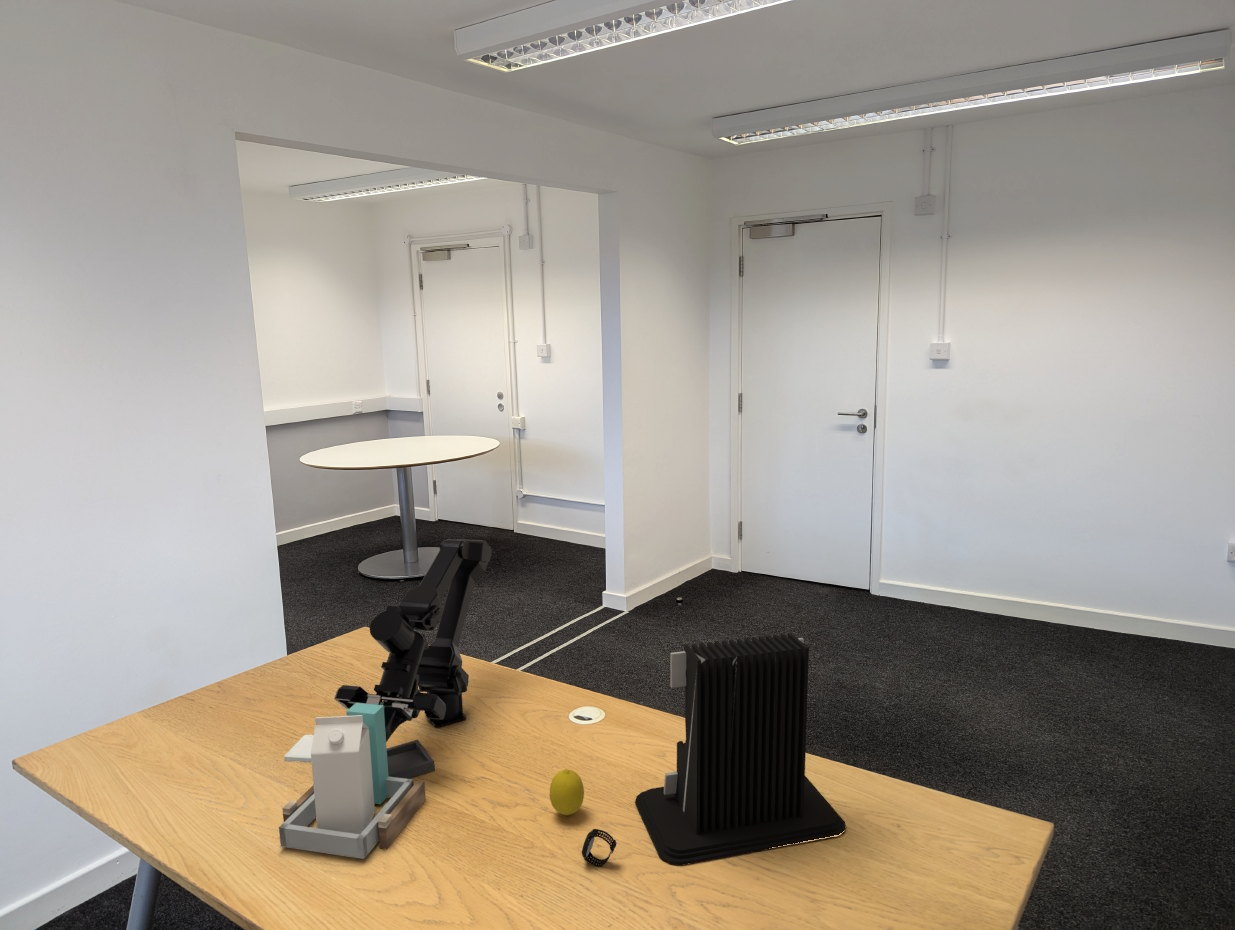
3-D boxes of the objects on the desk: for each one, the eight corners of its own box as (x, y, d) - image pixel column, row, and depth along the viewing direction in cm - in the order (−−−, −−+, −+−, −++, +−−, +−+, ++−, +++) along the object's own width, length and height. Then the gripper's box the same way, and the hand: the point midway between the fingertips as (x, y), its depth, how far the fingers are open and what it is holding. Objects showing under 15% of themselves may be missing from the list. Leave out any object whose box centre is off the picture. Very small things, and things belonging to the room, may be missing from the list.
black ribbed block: (797, 771, 142) (802, 609, 137) (852, 835, 124) (861, 652, 119) (631, 797, 135) (629, 627, 130) (664, 869, 117) (663, 676, 112)
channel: (331, 787, 138) (329, 763, 138) (425, 799, 135) (424, 775, 134) (284, 834, 126) (282, 808, 125) (387, 849, 122) (385, 822, 121)
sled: (338, 787, 137) (331, 700, 135) (414, 797, 134) (408, 708, 132) (280, 846, 122) (271, 749, 119) (364, 858, 119) (356, 759, 116)
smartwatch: (594, 850, 121) (593, 820, 120) (620, 864, 118) (619, 833, 117) (575, 864, 118) (574, 833, 117) (602, 879, 115) (601, 848, 114)
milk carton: (330, 815, 131) (321, 707, 127) (375, 813, 131) (367, 704, 128) (318, 843, 124) (308, 729, 120) (365, 840, 124) (356, 726, 121)
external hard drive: (306, 741, 155) (368, 743, 154) (284, 764, 147) (349, 766, 146) (305, 733, 155) (367, 735, 154) (283, 755, 147) (349, 758, 146)
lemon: (589, 808, 132) (588, 763, 130) (576, 828, 127) (575, 782, 125) (558, 802, 133) (557, 758, 132) (544, 821, 128) (543, 776, 127)
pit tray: (418, 748, 151) (417, 739, 151) (434, 770, 143) (434, 761, 143) (370, 762, 146) (369, 753, 146) (384, 786, 139) (383, 776, 138)
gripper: (465, 684, 148) (442, 771, 140) (373, 675, 152) (346, 759, 144) (445, 661, 139) (419, 752, 131) (348, 652, 144) (317, 740, 135)
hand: (375, 752), depth 135 cm, fingers closed
